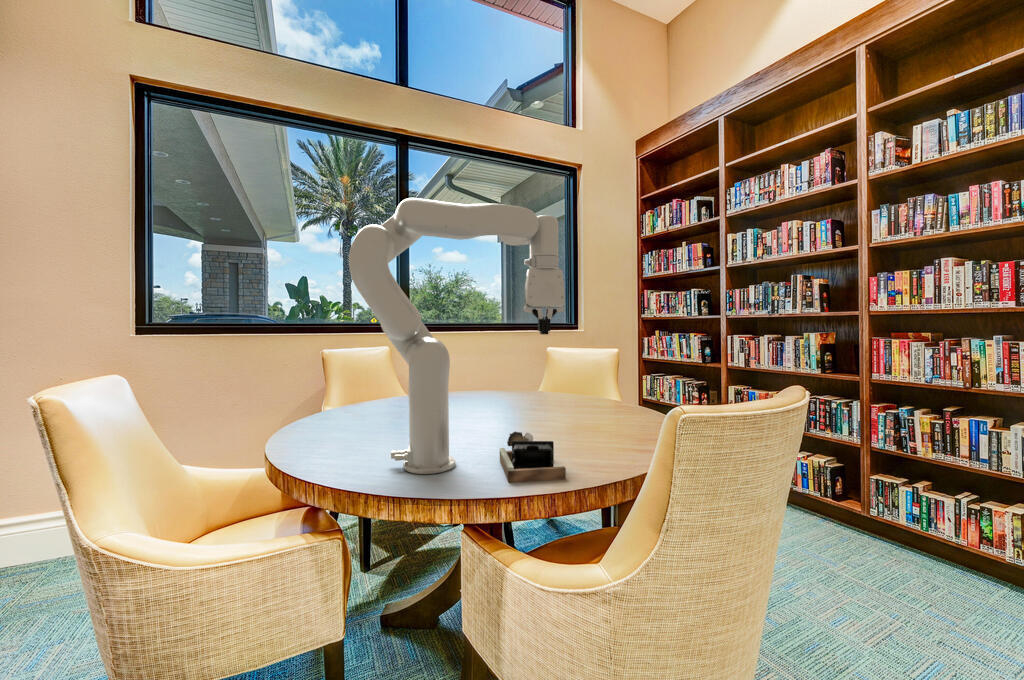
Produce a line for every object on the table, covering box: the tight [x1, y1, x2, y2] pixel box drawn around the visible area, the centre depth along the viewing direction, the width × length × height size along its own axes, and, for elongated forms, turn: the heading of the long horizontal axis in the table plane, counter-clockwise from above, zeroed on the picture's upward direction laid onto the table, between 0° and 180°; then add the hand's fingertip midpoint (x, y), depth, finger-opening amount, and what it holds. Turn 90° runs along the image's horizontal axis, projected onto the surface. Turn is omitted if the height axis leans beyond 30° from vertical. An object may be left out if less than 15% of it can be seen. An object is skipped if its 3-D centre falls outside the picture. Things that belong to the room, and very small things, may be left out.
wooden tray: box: [499, 447, 567, 483], centre depth 106 cm, size 13×15×3 cm
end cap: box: [511, 440, 555, 469], centre depth 106 cm, size 10×7×7 cm
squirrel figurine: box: [506, 431, 534, 447], centre depth 118 cm, size 8×7×9 cm
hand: (544, 334), depth 117 cm, fingers closed
